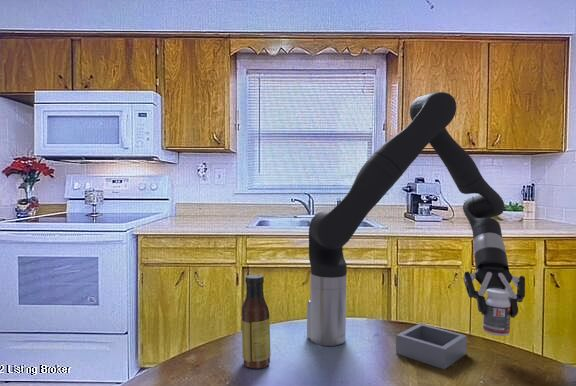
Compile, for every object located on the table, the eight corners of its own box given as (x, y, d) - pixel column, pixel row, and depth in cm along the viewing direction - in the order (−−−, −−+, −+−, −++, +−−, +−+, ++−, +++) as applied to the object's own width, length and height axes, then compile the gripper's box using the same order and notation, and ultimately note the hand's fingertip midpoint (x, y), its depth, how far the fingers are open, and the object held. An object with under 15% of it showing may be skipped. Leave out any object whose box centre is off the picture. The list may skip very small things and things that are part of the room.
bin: (395, 353, 102) (396, 334, 102) (419, 340, 111) (420, 323, 111) (444, 369, 94) (445, 349, 94) (466, 354, 103) (466, 335, 103)
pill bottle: (512, 337, 97) (514, 294, 97) (486, 335, 98) (488, 292, 98) (505, 329, 103) (507, 288, 103) (480, 326, 104) (481, 286, 104)
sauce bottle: (274, 360, 98) (275, 274, 97) (264, 372, 92) (265, 280, 91) (248, 356, 100) (249, 271, 99) (236, 367, 94) (237, 277, 93)
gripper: (462, 244, 109) (467, 303, 98) (524, 247, 105) (537, 309, 94) (458, 260, 114) (463, 318, 103) (517, 265, 111) (529, 325, 100)
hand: (498, 314), depth 99 cm, fingers closed on pill bottle, 5 cm apart
